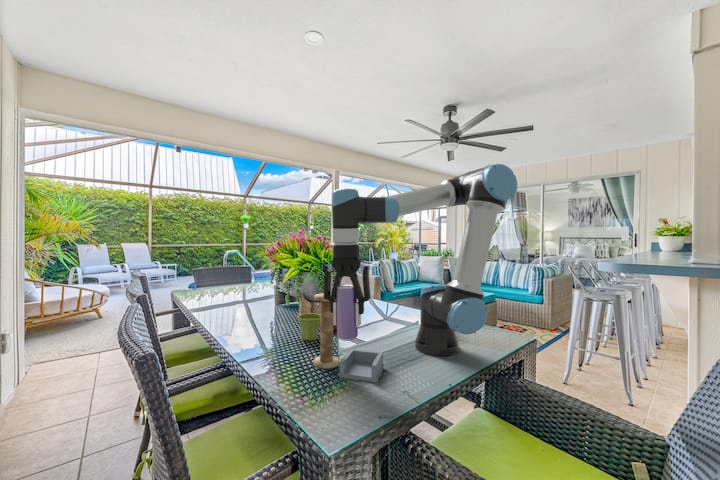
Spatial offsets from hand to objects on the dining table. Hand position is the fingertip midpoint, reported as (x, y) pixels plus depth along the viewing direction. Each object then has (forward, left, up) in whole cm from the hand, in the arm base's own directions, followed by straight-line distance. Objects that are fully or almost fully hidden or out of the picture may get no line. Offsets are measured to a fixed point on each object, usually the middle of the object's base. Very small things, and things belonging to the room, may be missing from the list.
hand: (347, 324), depth 89 cm
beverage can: (0, 0, -4) cm, 4 cm away
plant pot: (+24, -27, -15) cm, 39 cm away
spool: (+9, -7, -15) cm, 19 cm away
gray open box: (-4, -4, -15) cm, 16 cm away
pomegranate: (+21, -40, -15) cm, 47 cm away
